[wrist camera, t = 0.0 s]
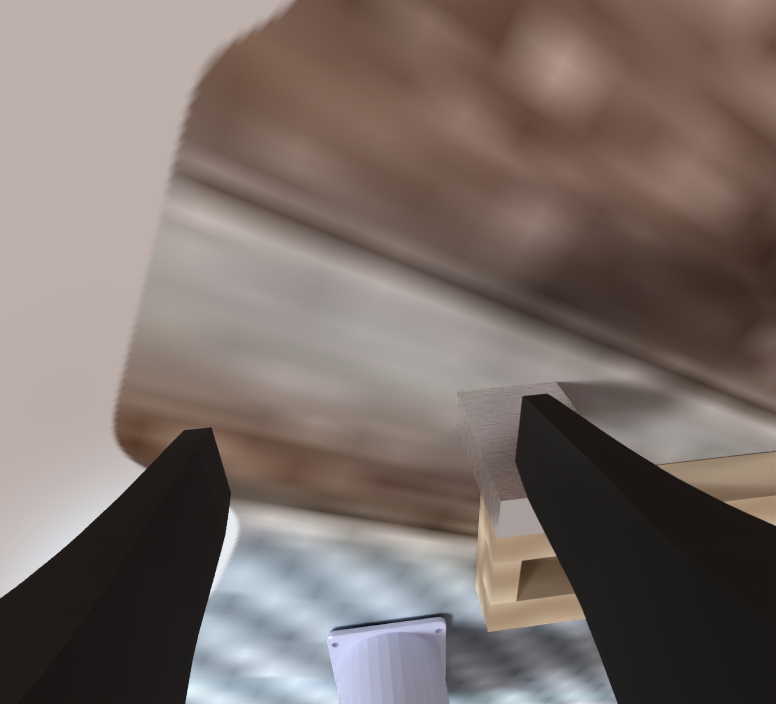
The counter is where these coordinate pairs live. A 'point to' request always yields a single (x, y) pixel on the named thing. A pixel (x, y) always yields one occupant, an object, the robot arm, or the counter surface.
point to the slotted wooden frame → (544, 572)
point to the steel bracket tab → (500, 451)
